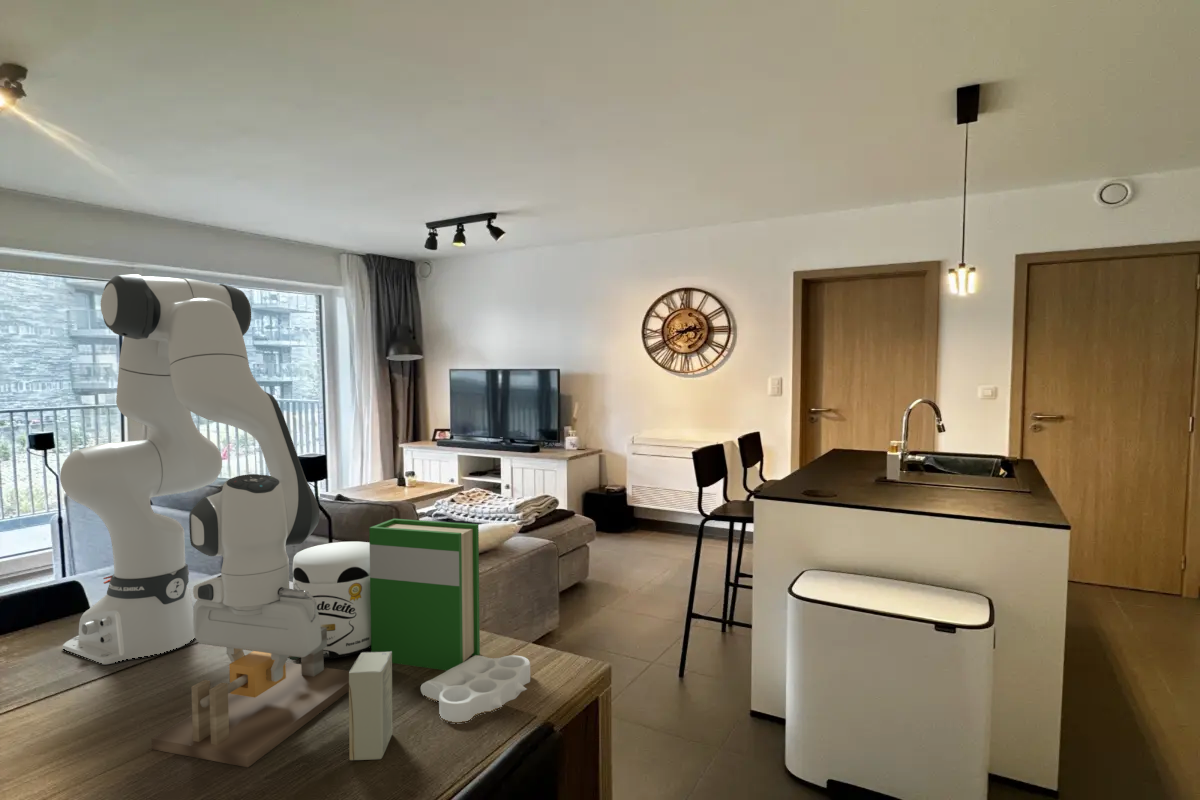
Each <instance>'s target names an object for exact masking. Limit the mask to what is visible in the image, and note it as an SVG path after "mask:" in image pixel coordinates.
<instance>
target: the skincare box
mask: <svg viewBox="0 0 1200 800" xmlns="http://www.w3.org/2000/svg"><path fill="white" fill-rule="evenodd" d="M349 671H350V672H349V692H348V727H349V728H348V737H349V738H348V739H349V741H348V743H349V745H348V749H349V753H348V754H349V761H364V760H365V761H367V760H369V761H370V760H381V759H382V758H383V757H384V754H385V752H386V750H387V748H388V746H389V743H390V740H391V739H392V735H393V663H392V651H390V652H371V651H363V652H360V654H359V655H358V657H357V658H356V660H355V661H354V663H353V665H352V666H351V668H350V670H349Z"/></svg>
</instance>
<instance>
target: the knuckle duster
mask: <svg viewBox="0 0 1200 800" xmlns="http://www.w3.org/2000/svg"><path fill="white" fill-rule="evenodd" d="M529 683H531V662H530V660H529V659H528V658H526V657H525V656H522V655H514V654H513V655H504V656H501V657H496V658H494V657H493V658H491V657H487V656H484V655H475V656H472V657H471V656H470V657H469V658H467V659H466V660H465V661H464V662H463V663H461V664H459V665H457V666H456V667H453V668H451V669H449V670H445V671H444V672H443V673H440V674H439V675H437V676H435V677H433V678H431V679H429V680H426V681H425V682H423V683H421V686H420V692H421V694H422V696H424V695H425V696H427V697H430V698H433V699H436V700H438V701H439V702H438V707H439V709H438V713H439V714H440V716H441V718H443V719H445V720H448V721H452V722H462V721H468V720H470V719H471V718H472V717H473V716H474V715H475V714H477V713H481V712H484V711H491V710H493V709H495V708H499V707H502V708H503V706H504V705H505V704H506V703H508V702H509V701H513V700H515V699H517V697H518V696H519V695H520V694H521V693H522V692H525V691H526V690H528V688H527V687H525V685H526V684H529ZM502 705H503V706H502ZM440 716H439V717H440ZM441 718H440V719H441ZM471 720H472V719H471Z"/></svg>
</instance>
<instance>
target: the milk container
mask: <svg viewBox="0 0 1200 800" xmlns="http://www.w3.org/2000/svg"><path fill="white" fill-rule="evenodd" d="M292 576H293V578H292V589H294V590H305V591H308V593H309V594H310V595H311V596H313V598H314V599H316V602H317V610H318V615H319V620H320V627H324V628H327V647H325V648H324V649H323V657H324V660H325V659H326V660H327V659H338V658H344V657H345V658H346V657H350V656H352V655H356V654H359V653H360V654H361V653H362V652H366V650H369V649H370V648H371V600H370V542H368V541H367V542H366V541H340V542H339V541H337V542H329V543H324V544H318V545H315V546H311V547H307V548H304V549H303V550H300V551H298V552H296V553H295V555H294V556H293V561H292ZM307 598H309V597H307Z"/></svg>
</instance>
